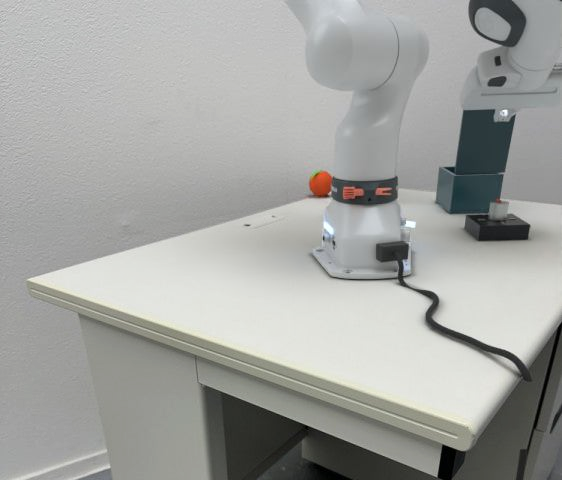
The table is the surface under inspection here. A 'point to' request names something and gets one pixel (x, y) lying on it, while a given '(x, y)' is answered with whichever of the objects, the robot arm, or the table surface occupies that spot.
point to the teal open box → (467, 190)
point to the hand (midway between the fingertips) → (500, 119)
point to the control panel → (496, 228)
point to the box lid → (483, 143)
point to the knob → (498, 210)
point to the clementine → (320, 183)
